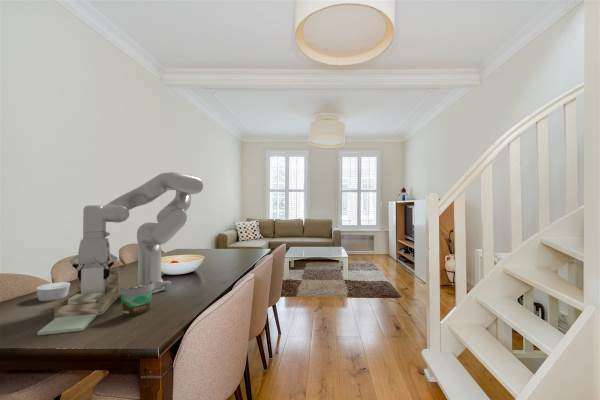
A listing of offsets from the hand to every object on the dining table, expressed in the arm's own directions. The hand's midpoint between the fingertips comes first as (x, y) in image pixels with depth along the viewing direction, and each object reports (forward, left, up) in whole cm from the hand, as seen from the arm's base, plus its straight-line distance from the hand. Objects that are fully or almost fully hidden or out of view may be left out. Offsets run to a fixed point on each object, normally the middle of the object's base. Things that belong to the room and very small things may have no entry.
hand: (93, 278), depth 115 cm
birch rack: (0, +4, -10) cm, 11 cm away
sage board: (0, +21, -10) cm, 23 cm away
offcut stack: (0, +8, -10) cm, 13 cm away
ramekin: (+19, -13, -10) cm, 25 cm away
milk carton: (0, 0, -10) cm, 10 cm away
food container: (-20, +15, -10) cm, 27 cm away
